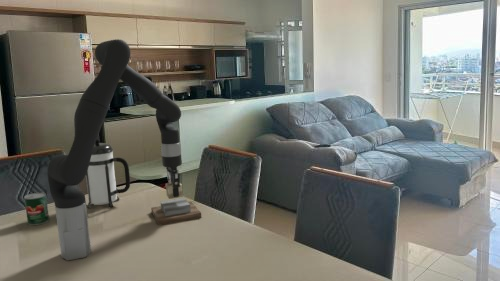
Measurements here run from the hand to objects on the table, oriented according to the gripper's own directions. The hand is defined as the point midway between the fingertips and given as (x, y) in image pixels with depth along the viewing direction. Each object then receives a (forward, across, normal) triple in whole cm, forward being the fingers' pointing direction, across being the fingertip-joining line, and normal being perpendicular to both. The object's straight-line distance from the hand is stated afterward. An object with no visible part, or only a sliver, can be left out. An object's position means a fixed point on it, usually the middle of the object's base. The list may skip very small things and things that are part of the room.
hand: (174, 194), depth 174 cm
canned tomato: (+9, +19, +52) cm, 56 cm away
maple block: (+1, 0, 0) cm, 1 cm away
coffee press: (+9, +29, +25) cm, 39 cm away
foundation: (+9, 0, 0) cm, 9 cm away
